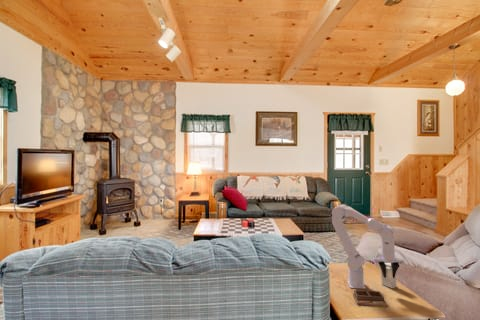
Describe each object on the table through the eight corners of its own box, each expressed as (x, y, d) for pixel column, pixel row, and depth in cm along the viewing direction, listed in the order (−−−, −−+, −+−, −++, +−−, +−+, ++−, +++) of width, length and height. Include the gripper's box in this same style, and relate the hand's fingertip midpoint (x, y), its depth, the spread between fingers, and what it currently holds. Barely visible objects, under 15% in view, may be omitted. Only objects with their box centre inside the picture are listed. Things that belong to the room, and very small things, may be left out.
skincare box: (396, 286, 151) (396, 264, 151) (391, 288, 149) (391, 265, 149) (385, 282, 156) (385, 260, 156) (380, 284, 154) (380, 262, 154)
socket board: (353, 295, 142) (352, 289, 142) (380, 297, 140) (380, 291, 140) (357, 304, 133) (357, 298, 133) (387, 306, 131) (386, 300, 131)
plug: (383, 278, 145) (383, 266, 145) (391, 278, 145) (391, 267, 145) (386, 281, 142) (386, 269, 142) (393, 281, 141) (393, 269, 141)
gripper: (375, 252, 141) (376, 279, 140) (406, 253, 138) (407, 280, 138) (371, 247, 148) (371, 273, 147) (401, 248, 145) (401, 275, 145)
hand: (388, 276), depth 143 cm, fingers closed on plug, 4 cm apart
